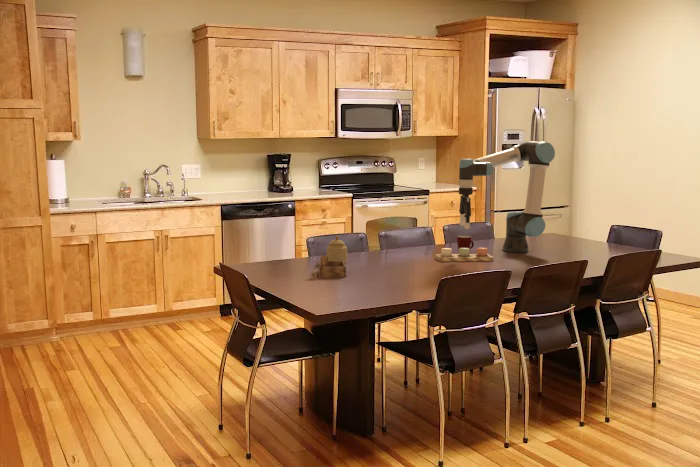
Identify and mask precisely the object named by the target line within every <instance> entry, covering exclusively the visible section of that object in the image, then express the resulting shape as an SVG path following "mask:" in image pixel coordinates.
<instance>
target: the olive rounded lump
mask: <svg viewBox="0 0 700 467" xmlns="http://www.w3.org/2000/svg"><path fill="white" fill-rule="evenodd" d="M470 250H471V249H469V248H459V250H458V254H459V256H462V257H468V256H469V254H470Z"/></svg>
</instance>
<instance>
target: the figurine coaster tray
mask: <svg viewBox="0 0 700 467" xmlns="http://www.w3.org/2000/svg"><path fill="white" fill-rule="evenodd" d="M318 272H319V277H320V278H345V277H347V266H346V263H344V261H327V262H326V267H322V261H321V260H319V261H318Z"/></svg>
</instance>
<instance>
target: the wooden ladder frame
mask: <svg viewBox="0 0 700 467" xmlns="http://www.w3.org/2000/svg"><path fill="white" fill-rule="evenodd" d="M434 257H435V259H436V260H437V261H438V262H494V256H493V255H491V254H489V253H487V256H484V257H482V256H477V253H469V256H468V257H462V256H459V253H452V255H451V257H443V256H441V253H439V254H438V253H436V254H435V256H434Z"/></svg>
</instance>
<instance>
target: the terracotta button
mask: <svg viewBox="0 0 700 467" xmlns="http://www.w3.org/2000/svg"><path fill="white" fill-rule="evenodd" d="M476 254H477V256H482V257H484V256H487V254H488V248H487V247H476Z"/></svg>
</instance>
